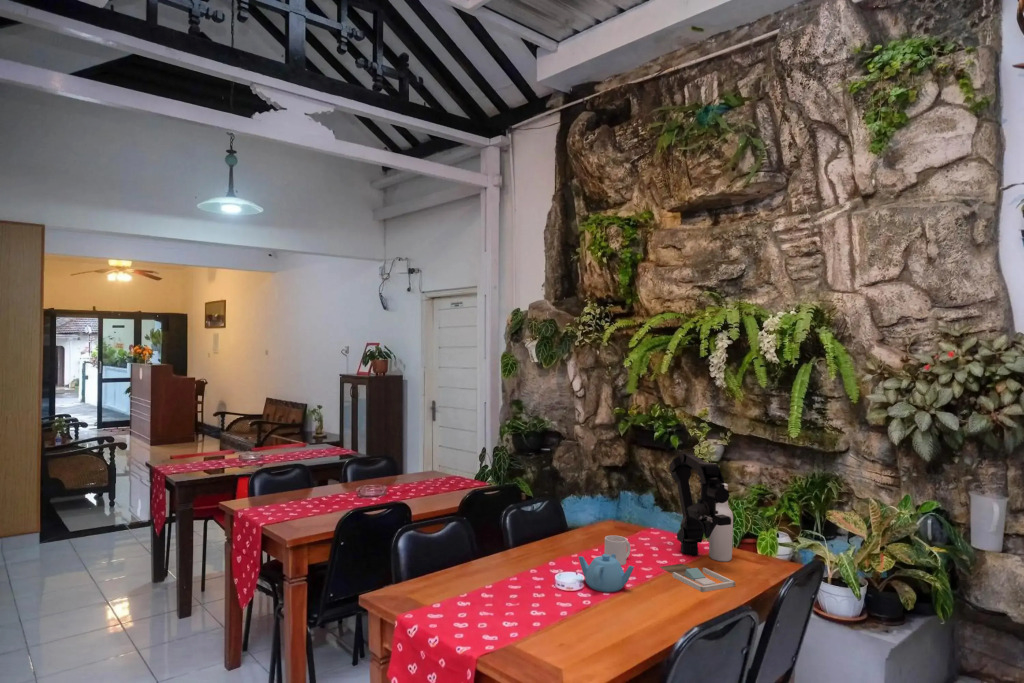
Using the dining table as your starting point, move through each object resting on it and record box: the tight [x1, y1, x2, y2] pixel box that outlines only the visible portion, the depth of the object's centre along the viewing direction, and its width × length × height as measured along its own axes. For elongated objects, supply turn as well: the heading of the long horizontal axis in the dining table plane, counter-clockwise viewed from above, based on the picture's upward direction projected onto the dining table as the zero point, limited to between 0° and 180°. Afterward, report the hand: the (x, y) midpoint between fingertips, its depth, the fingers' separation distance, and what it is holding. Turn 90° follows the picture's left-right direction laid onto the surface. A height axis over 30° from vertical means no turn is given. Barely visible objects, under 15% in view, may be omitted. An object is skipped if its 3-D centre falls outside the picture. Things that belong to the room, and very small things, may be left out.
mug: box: [603, 535, 631, 566], centre depth 239 cm, size 12×8×10 cm
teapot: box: [578, 553, 635, 593], centre depth 217 cm, size 15×15×11 cm
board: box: [659, 563, 692, 577], centre depth 231 cm, size 11×11×2 cm
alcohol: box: [708, 482, 734, 563], centre depth 251 cm, size 9×9×30 cm
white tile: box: [694, 577, 717, 586], centre depth 219 cm, size 5×5×2 cm
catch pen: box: [672, 567, 736, 593], centre depth 220 cm, size 15×15×3 cm
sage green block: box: [684, 567, 707, 582], centre depth 224 cm, size 5×5×2 cm
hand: (707, 537), depth 237 cm, fingers closed
